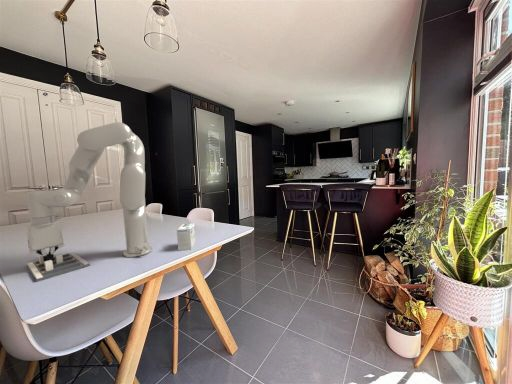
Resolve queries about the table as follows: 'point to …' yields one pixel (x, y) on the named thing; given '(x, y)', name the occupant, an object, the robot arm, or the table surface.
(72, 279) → the table surface
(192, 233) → the light bulb box
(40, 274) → the switch board
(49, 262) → the tab
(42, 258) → the tab
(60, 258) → the tab
